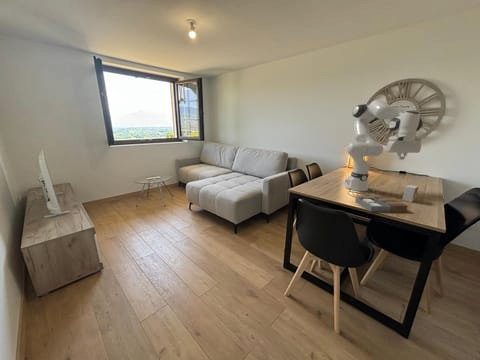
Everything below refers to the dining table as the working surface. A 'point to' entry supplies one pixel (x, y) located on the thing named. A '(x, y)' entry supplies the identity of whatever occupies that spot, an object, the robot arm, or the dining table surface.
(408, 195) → the small box
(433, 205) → the dining table surface
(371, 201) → the tile
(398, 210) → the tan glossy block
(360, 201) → the bin
